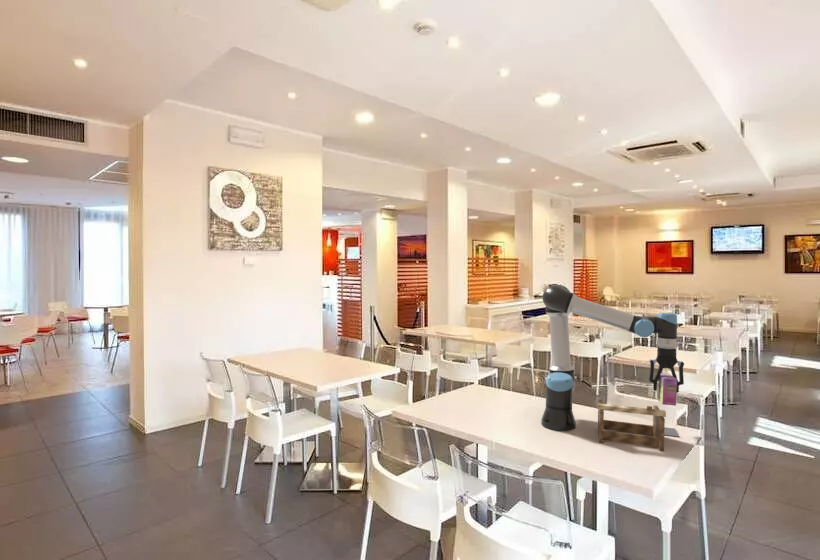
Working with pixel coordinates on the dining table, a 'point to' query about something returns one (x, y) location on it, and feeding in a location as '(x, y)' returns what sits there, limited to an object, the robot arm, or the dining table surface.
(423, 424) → the dining table surface
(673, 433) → the mat
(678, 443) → the dining table surface
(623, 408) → the brown wooden bar
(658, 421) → the toolbox
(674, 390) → the box
